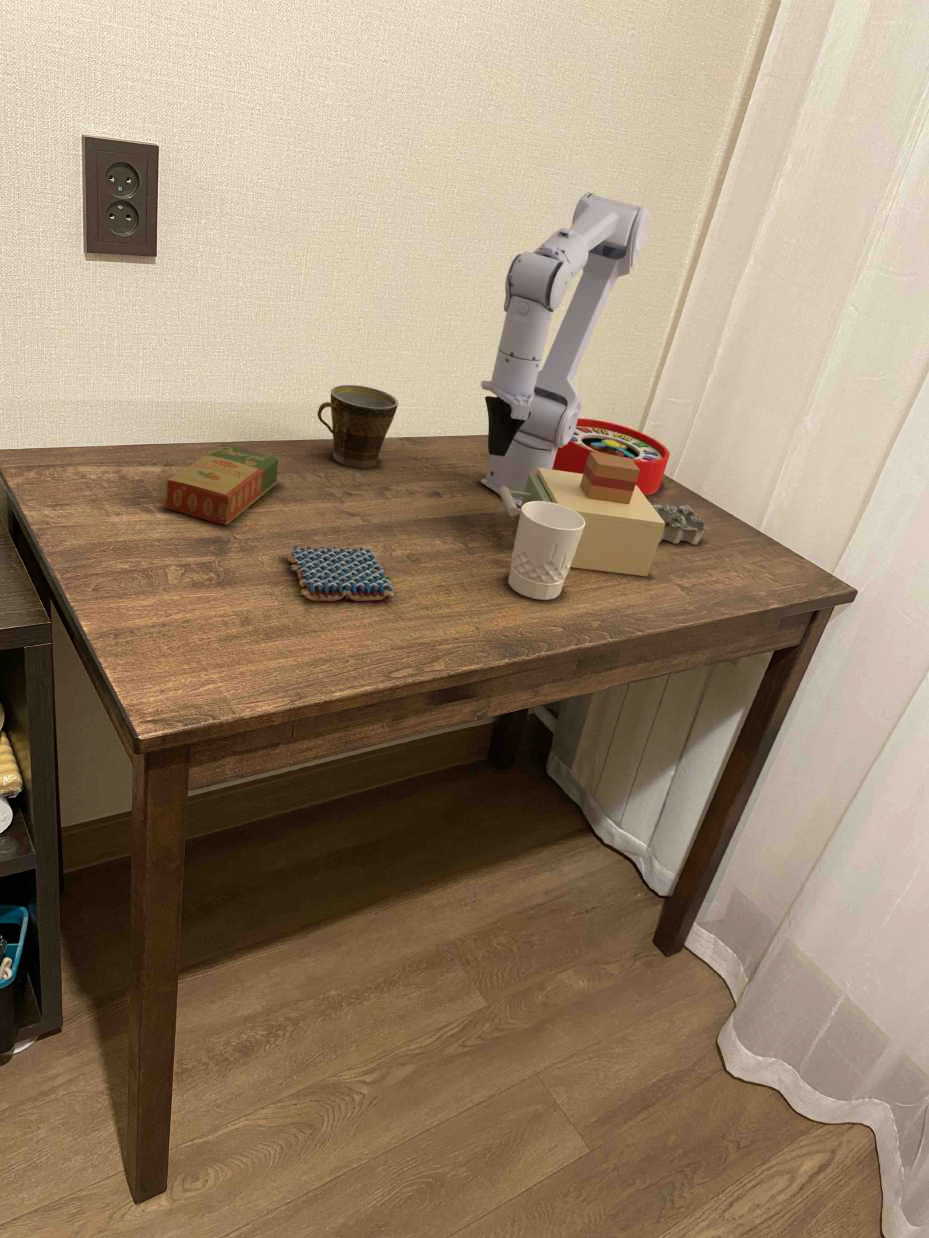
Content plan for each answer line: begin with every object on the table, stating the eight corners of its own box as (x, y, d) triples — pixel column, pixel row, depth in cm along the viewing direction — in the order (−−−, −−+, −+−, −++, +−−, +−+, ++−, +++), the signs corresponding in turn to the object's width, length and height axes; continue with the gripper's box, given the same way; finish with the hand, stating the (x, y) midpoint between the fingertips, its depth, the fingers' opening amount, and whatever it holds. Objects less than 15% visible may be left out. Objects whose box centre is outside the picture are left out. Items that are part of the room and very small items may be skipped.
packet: (587, 498, 122) (598, 463, 120) (579, 485, 126) (589, 451, 123) (629, 504, 123) (640, 470, 121) (620, 491, 127) (630, 457, 125)
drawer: (504, 551, 120) (515, 507, 117) (488, 510, 131) (498, 469, 127) (632, 566, 124) (645, 525, 121) (606, 525, 135) (618, 486, 132)
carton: (163, 509, 112) (165, 477, 110) (220, 469, 126) (222, 440, 124) (227, 527, 111) (230, 495, 109) (277, 485, 125) (280, 455, 123)
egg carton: (644, 543, 134) (653, 518, 132) (623, 520, 141) (631, 496, 139) (706, 546, 138) (715, 522, 136) (683, 524, 144) (691, 501, 142)
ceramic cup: (361, 444, 145) (371, 383, 140) (400, 469, 140) (412, 406, 135) (292, 451, 137) (300, 386, 132) (331, 478, 131) (340, 411, 126)
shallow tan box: (545, 564, 121) (560, 508, 117) (524, 519, 133) (537, 467, 129) (647, 576, 124) (665, 523, 120) (617, 531, 136) (633, 481, 132)
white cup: (546, 610, 110) (568, 535, 105) (491, 584, 113) (509, 510, 108) (574, 590, 116) (595, 519, 111) (521, 565, 119) (540, 495, 114)
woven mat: (370, 559, 112) (373, 544, 111) (395, 604, 103) (398, 588, 102) (285, 558, 107) (287, 542, 106) (304, 604, 99) (306, 588, 98)
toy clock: (616, 418, 168) (693, 460, 155) (608, 447, 171) (682, 492, 157) (532, 418, 157) (607, 464, 143) (524, 450, 160) (597, 498, 146)
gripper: (480, 334, 122) (460, 431, 128) (500, 364, 109) (475, 469, 116) (531, 343, 123) (508, 438, 130) (555, 373, 111) (528, 477, 118)
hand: (496, 453), depth 123 cm, fingers closed
